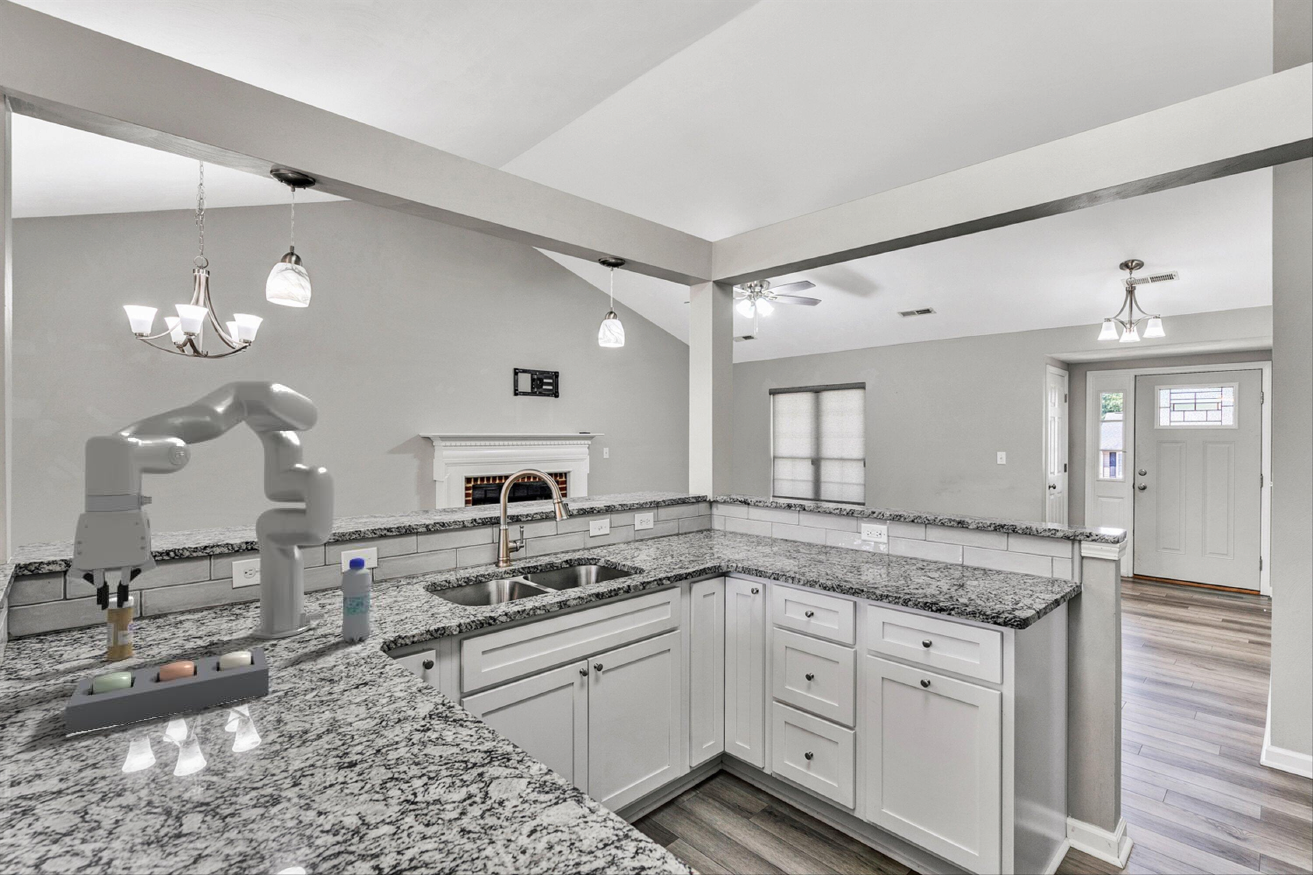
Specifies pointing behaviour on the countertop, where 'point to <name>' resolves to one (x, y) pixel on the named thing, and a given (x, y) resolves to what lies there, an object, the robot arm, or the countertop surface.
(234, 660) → the cream button
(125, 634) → the sprinkles bottle
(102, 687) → the sage button
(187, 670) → the terracotta button
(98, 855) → the countertop surface
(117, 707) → the button box
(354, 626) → the bottle
